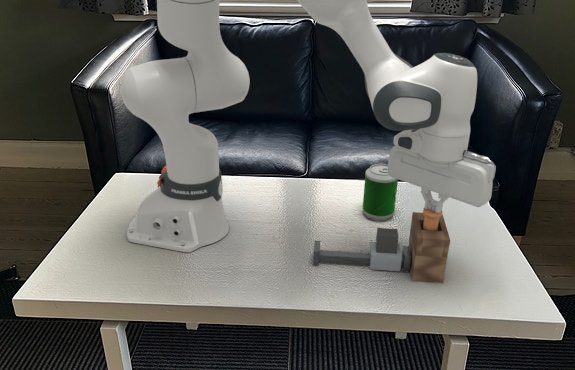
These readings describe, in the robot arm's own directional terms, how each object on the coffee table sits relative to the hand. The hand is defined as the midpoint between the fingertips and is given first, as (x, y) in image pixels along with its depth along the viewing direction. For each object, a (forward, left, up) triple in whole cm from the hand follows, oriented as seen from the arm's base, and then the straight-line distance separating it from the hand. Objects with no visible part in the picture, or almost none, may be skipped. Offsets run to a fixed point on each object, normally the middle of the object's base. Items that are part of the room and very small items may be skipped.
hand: (433, 210), depth 109 cm
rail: (-13, 0, -14) cm, 19 cm away
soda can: (-9, +21, -14) cm, 27 cm away
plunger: (0, 0, -6) cm, 6 cm away
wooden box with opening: (0, 0, -14) cm, 14 cm away
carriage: (-8, 0, -14) cm, 16 cm away
